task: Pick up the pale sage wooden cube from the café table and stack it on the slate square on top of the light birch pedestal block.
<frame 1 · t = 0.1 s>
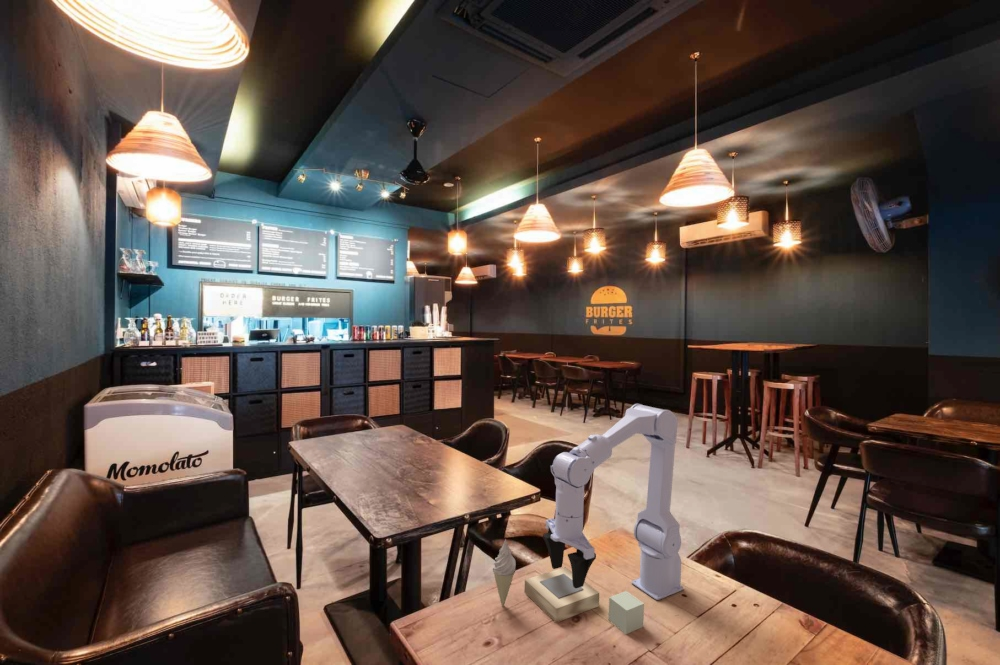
hand: (567, 576, 94), 10 cm above the table, tool pointing down, fingers open, 7 cm apart
birch pedestal: (560, 599, 103), on the table
ice cream cone: (502, 606, 100), on the table
sage cube: (625, 623, 95), on the table
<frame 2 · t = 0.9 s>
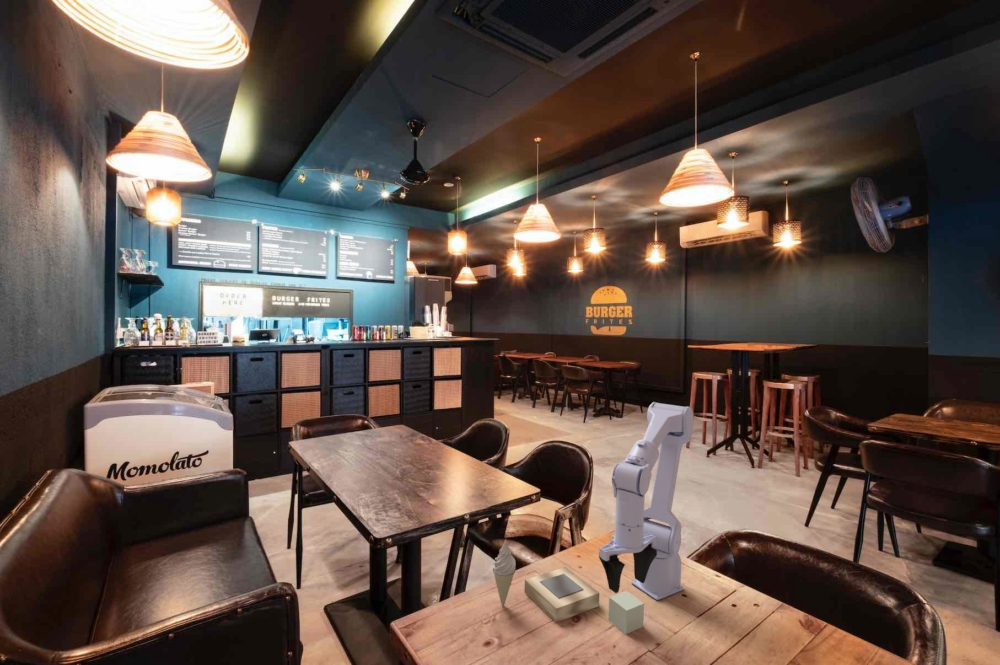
hand: (626, 585, 95), 8 cm above the table, tool pointing down, fingers open, 7 cm apart
nothing on the table moved.
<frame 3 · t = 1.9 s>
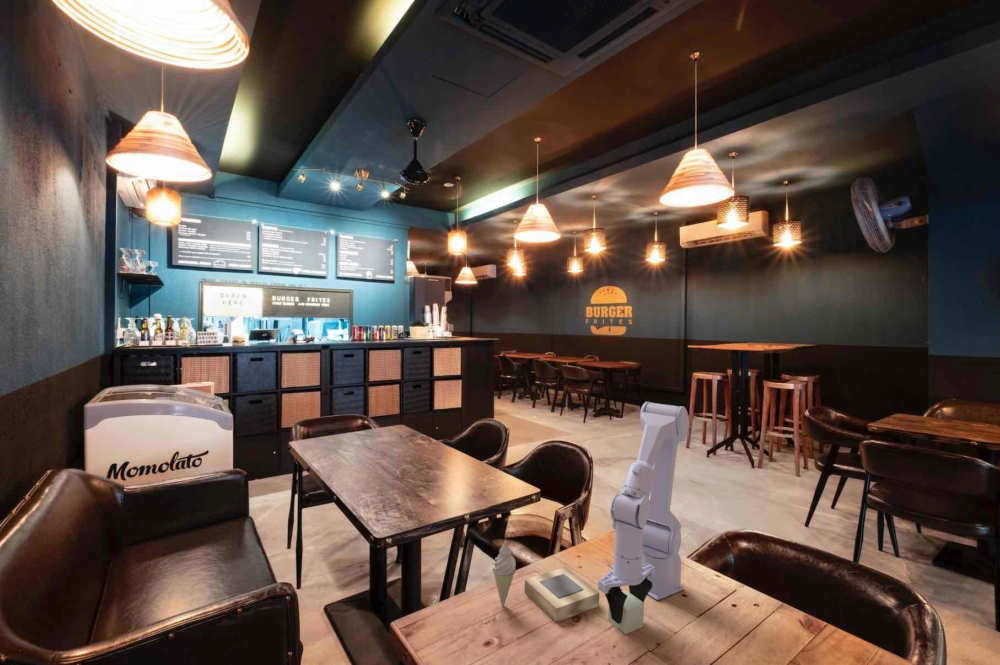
hand: (625, 616, 95), 1 cm above the table, tool pointing down, fingers closed on sage cube, 5 cm apart
sage cube: (625, 623, 95), on the table, touching gripper
everything else where it was.
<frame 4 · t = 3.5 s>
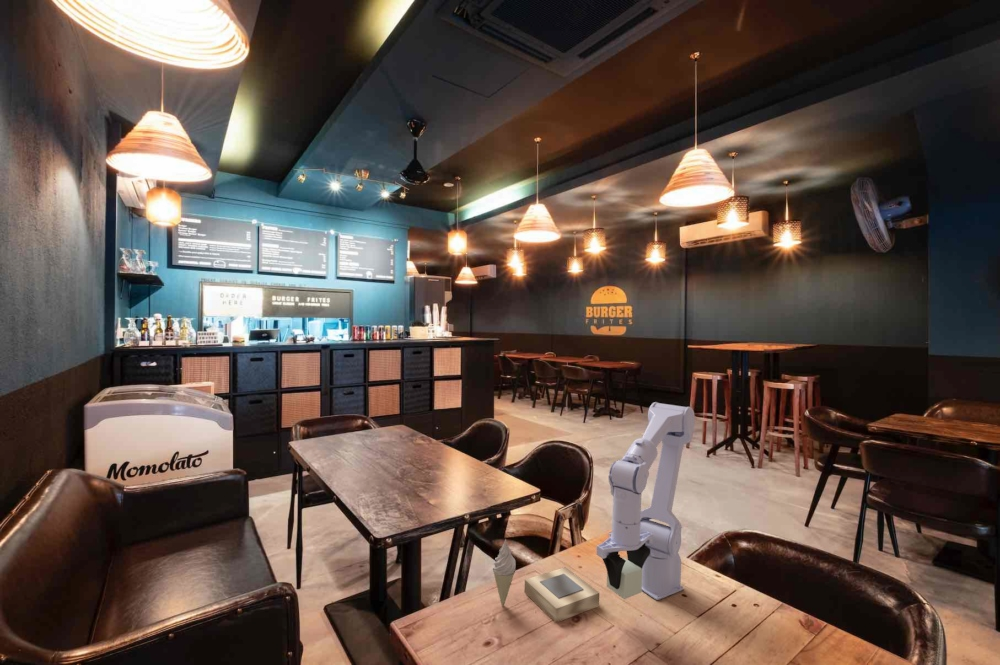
hand: (624, 582, 95), 8 cm above the table, tool pointing down, fingers closed on sage cube, 5 cm apart
sage cube: (623, 589, 95), point 7 cm above the table, touching gripper
everything else where it was.
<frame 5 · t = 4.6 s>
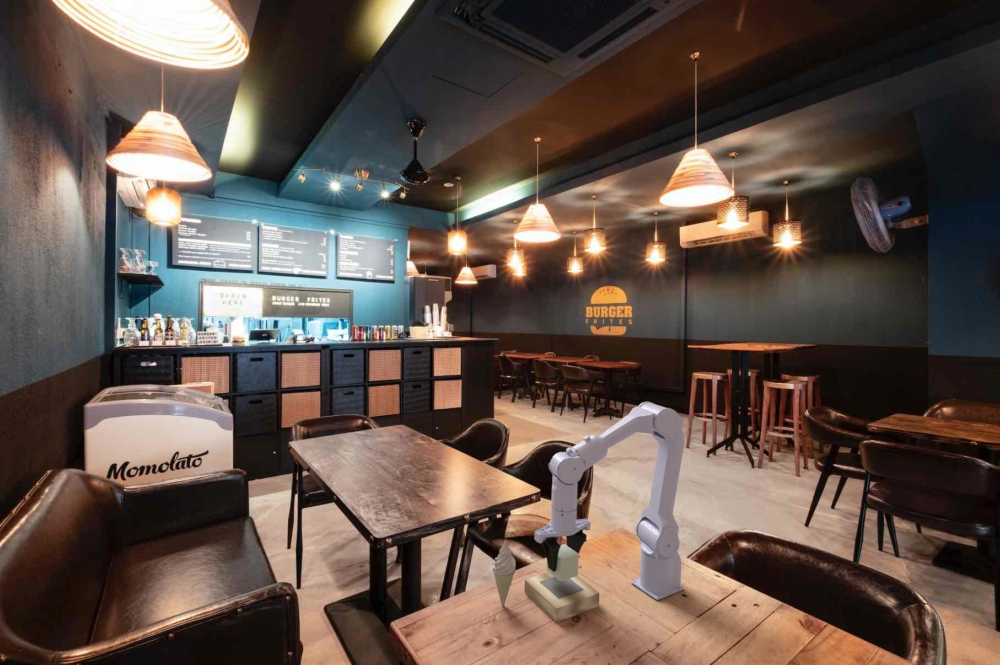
hand: (561, 566, 102), 8 cm above the table, tool pointing down, fingers closed on sage cube, 5 cm apart
sage cube: (562, 573, 102), point 6 cm above the table, touching gripper
everything else where it was.
when the fingers open (6 cm above the table, at t = 5.4 s): sage cube drops 1 cm, resting on birch pedestal.
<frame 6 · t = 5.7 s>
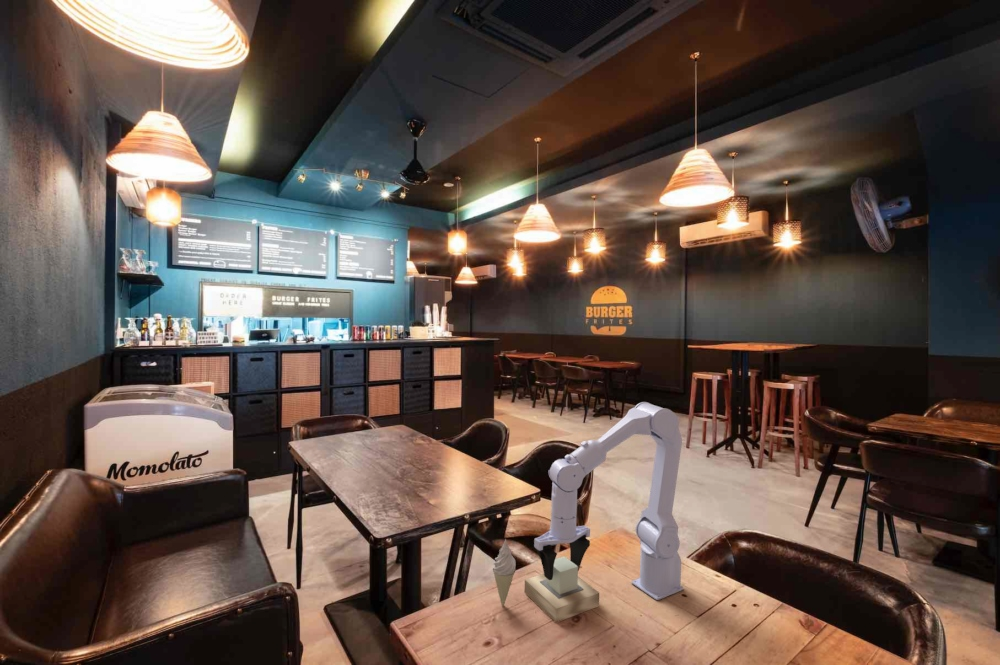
hand: (561, 573, 103), 6 cm above the table, tool pointing down, fingers open, 7 cm apart
sage cube: (561, 585, 102), point 3 cm above the table, touching birch pedestal
everything else where it was.
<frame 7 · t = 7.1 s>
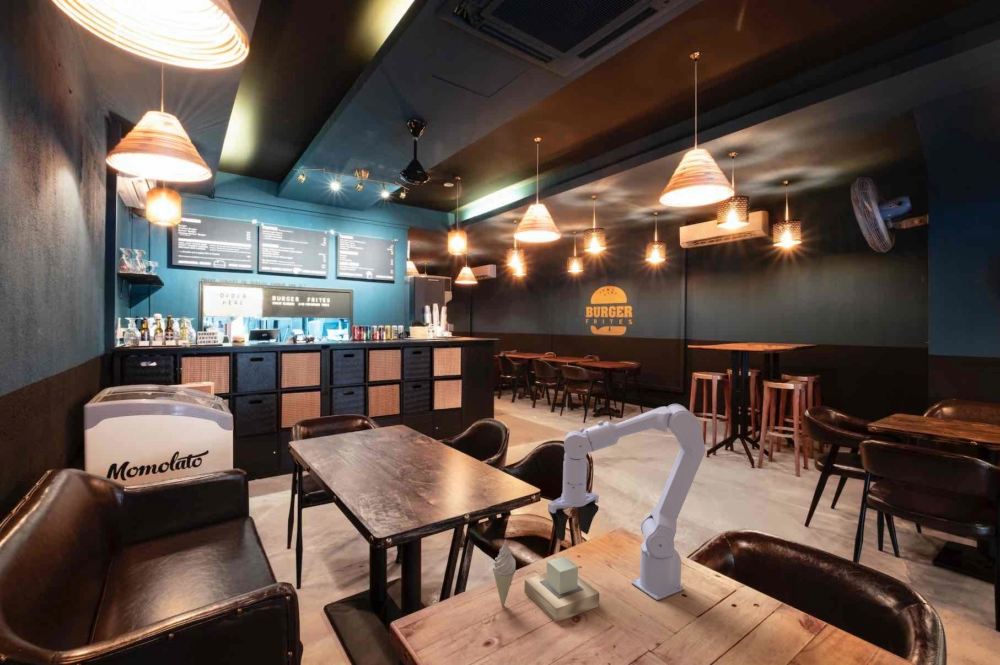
hand: (572, 535, 112), 10 cm above the table, tool pointing down, fingers open, 7 cm apart
nothing on the table moved.
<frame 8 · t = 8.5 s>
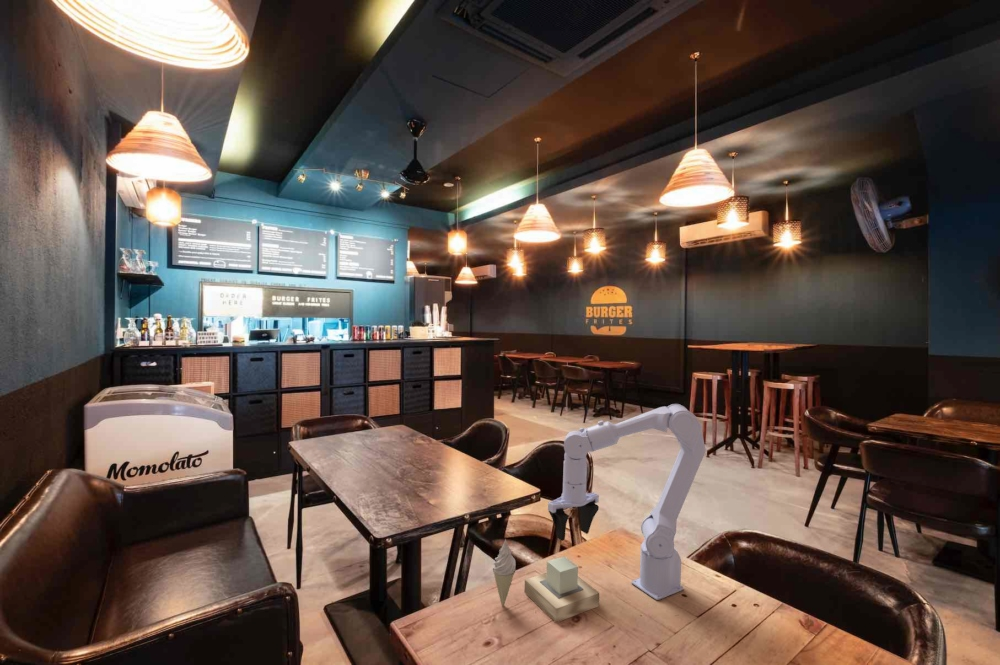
hand: (572, 535, 112), 10 cm above the table, tool pointing down, fingers open, 7 cm apart
nothing on the table moved.
at the end: sage cube 0.2 cm off-centre on the birch pedestal, point 3.2 cm above the birch pedestal's base; sage cube tilted 0°; the gripper is holding nothing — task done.
